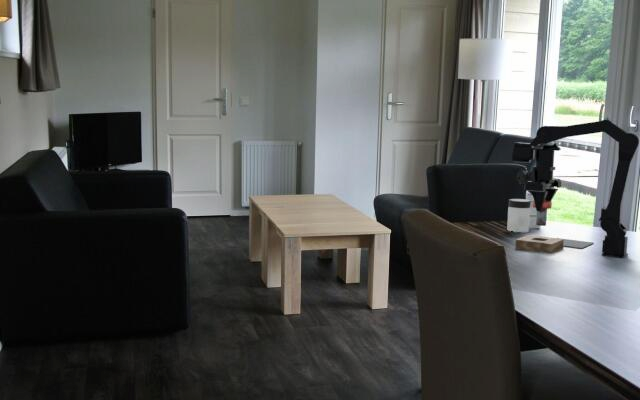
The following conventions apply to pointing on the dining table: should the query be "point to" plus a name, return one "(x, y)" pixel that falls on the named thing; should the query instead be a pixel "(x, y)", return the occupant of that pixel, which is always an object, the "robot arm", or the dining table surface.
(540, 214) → the no entry disc
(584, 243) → the mat
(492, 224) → the dining table surface
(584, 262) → the dining table surface
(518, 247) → the eye block
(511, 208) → the jar
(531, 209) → the syrup box
